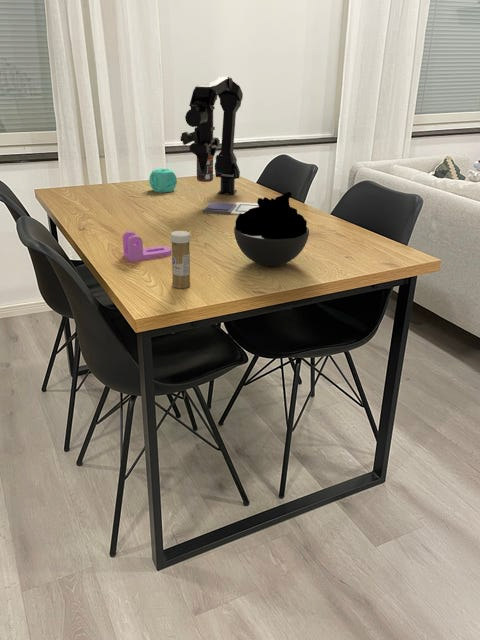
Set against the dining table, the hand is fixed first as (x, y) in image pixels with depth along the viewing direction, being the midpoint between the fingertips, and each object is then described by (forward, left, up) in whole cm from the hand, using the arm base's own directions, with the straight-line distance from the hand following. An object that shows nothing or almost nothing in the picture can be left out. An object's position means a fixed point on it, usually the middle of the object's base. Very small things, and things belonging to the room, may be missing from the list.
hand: (205, 169), depth 210 cm
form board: (+1, +18, -13) cm, 22 cm away
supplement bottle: (0, 0, -4) cm, 4 cm away
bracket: (+59, -2, -14) cm, 60 cm away
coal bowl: (+57, +33, -13) cm, 67 cm away
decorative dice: (-20, -22, -14) cm, 33 cm away
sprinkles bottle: (+78, +14, -13) cm, 81 cm away
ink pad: (+4, +7, -13) cm, 15 cm away
